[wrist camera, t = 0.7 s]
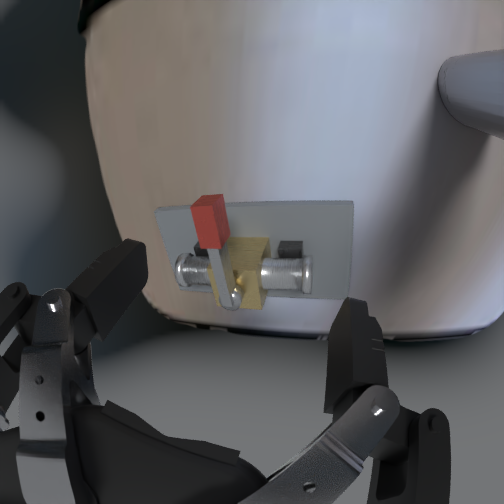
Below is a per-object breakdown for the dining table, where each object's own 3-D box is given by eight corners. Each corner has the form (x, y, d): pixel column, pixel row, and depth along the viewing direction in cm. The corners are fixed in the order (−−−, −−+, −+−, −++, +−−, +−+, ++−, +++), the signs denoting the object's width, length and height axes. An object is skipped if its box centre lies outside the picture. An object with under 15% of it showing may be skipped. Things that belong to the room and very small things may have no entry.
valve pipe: (313, 237, 34) (309, 272, 28) (314, 274, 38) (309, 312, 32) (189, 237, 39) (165, 266, 33) (199, 270, 43) (178, 301, 37)
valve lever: (245, 300, 32) (239, 317, 30) (225, 299, 33) (218, 315, 31) (224, 193, 25) (214, 205, 23) (200, 195, 26) (188, 207, 24)
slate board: (352, 200, 32) (353, 205, 31) (347, 292, 40) (347, 299, 38) (159, 207, 40) (154, 211, 39) (183, 284, 48) (180, 289, 46)
